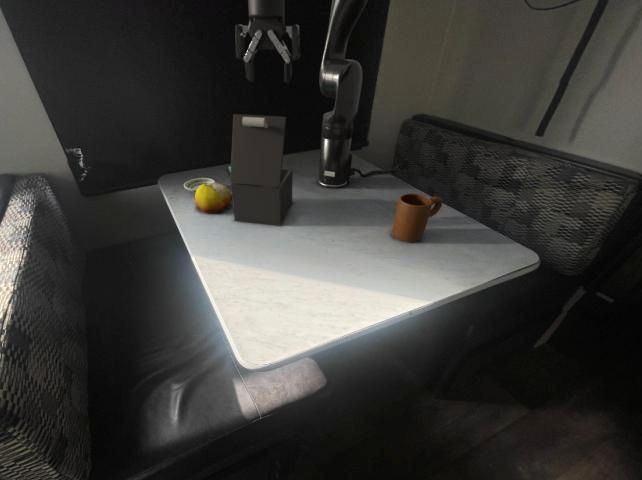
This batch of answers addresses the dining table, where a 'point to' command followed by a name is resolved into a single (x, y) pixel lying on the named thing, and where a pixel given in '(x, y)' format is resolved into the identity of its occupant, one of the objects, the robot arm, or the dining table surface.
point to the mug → (413, 216)
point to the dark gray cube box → (263, 201)
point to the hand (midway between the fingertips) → (268, 82)
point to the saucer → (196, 183)
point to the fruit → (212, 198)
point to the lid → (257, 150)
